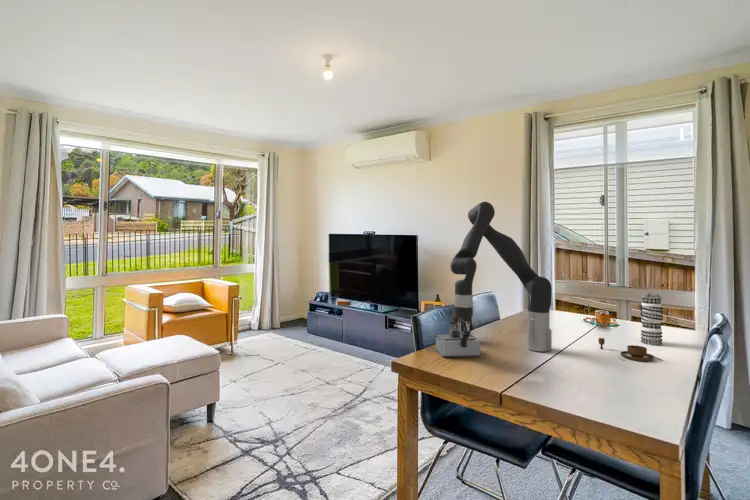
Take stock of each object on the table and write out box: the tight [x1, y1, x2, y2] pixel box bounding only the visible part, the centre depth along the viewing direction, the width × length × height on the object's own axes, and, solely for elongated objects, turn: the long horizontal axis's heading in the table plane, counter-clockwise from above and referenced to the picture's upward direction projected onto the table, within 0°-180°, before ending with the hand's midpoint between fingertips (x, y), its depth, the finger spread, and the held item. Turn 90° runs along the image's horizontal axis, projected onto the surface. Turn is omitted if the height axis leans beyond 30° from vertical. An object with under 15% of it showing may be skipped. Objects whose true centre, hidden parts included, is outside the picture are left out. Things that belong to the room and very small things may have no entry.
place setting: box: [598, 337, 664, 362], centre depth 169 cm, size 18×20×6 cm
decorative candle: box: [639, 292, 664, 347], centre depth 186 cm, size 9×9×25 cm
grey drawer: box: [443, 339, 481, 356], centre depth 169 cm, size 16×13×6 cm
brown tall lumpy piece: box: [448, 305, 473, 329], centre depth 191 cm, size 15×11×20 cm
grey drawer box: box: [435, 328, 481, 358], centre depth 171 cm, size 16×13×10 cm
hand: (463, 347), depth 161 cm, fingers closed
